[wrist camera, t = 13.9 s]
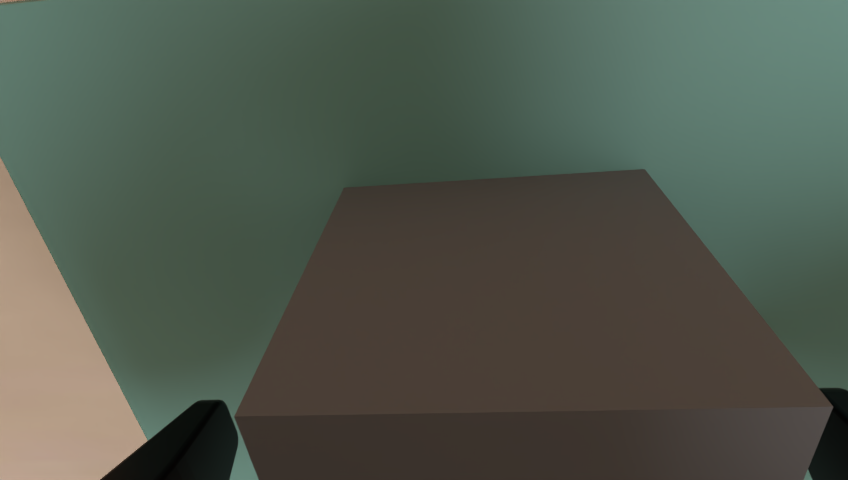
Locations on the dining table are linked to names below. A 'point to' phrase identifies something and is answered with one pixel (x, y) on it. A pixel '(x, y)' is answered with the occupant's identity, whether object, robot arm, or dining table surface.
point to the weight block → (524, 344)
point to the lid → (405, 150)
